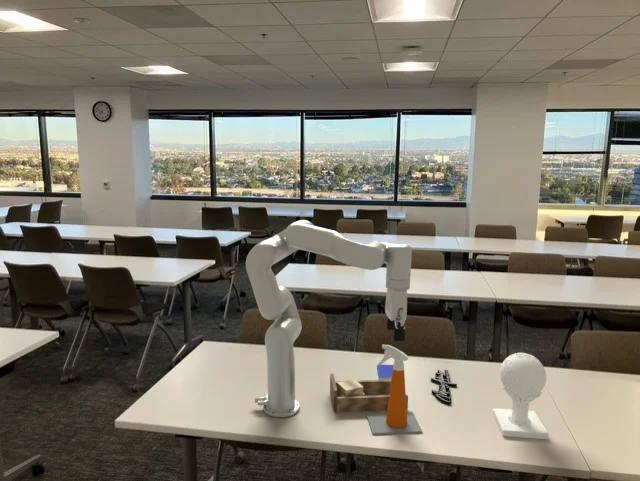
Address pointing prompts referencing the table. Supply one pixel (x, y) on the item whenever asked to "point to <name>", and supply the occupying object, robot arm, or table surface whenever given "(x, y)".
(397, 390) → the spray bottle
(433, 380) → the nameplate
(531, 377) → the trophy
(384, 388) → the wooden box
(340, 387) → the offcut top
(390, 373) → the hard drive
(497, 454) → the table surface
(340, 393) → the offcut middle
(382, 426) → the mat
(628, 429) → the table surface
